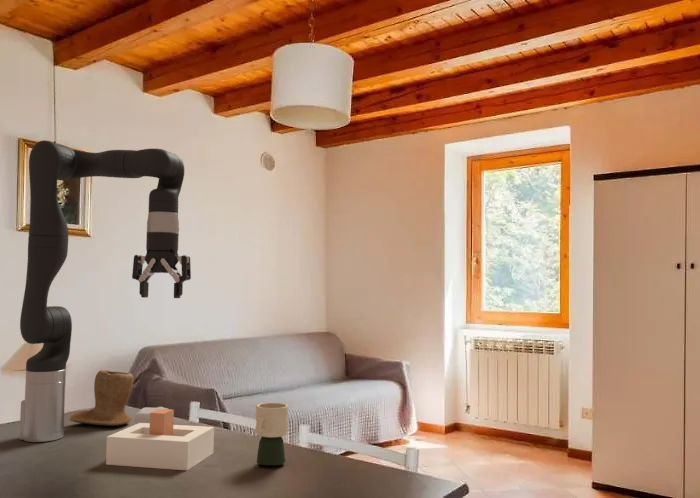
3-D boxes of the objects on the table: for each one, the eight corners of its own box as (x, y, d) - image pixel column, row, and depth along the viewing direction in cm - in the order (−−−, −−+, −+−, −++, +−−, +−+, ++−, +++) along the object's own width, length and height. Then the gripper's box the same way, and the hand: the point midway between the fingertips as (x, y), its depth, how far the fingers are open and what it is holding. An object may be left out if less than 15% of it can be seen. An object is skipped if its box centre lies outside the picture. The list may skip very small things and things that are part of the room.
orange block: (148, 458, 140) (150, 412, 140) (158, 452, 144) (159, 408, 145) (163, 459, 139) (164, 413, 140) (172, 453, 143) (173, 409, 144)
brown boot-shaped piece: (141, 421, 178) (143, 368, 179) (114, 430, 167) (116, 374, 168) (96, 417, 183) (98, 366, 183) (67, 426, 171) (69, 371, 172)
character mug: (270, 456, 144) (272, 399, 145) (297, 460, 141) (298, 402, 142) (243, 469, 134) (244, 408, 135) (270, 473, 131) (272, 411, 132)
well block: (106, 464, 136) (107, 436, 137) (139, 447, 150) (139, 422, 150) (187, 470, 133) (188, 441, 133) (213, 452, 147) (214, 427, 147)
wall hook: (183, 432, 164) (181, 396, 162) (168, 452, 154) (165, 414, 152) (154, 431, 164) (151, 395, 163) (137, 450, 154) (133, 413, 153)
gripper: (128, 230, 151) (125, 297, 150) (183, 230, 148) (181, 298, 147) (143, 232, 158) (141, 297, 157) (196, 232, 156) (194, 298, 155)
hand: (160, 297), depth 152 cm, fingers open, 8 cm apart
